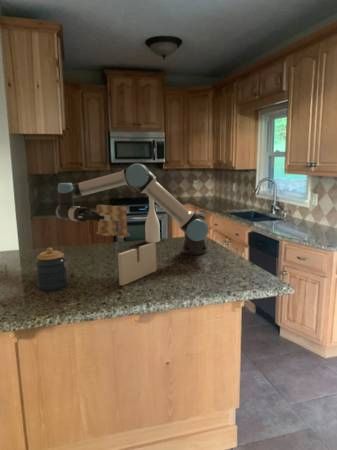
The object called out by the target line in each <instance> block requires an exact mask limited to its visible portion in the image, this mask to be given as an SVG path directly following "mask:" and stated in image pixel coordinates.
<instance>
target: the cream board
mask: <svg viewBox="0 0 337 450" xmlns="http://www.w3.org/2000/svg"><path fill="white" fill-rule="evenodd" d="M156 243H157V242H156ZM156 243H153V242H152V243H146V244H144V245H140V246H138V250H137V248H131V249H129V250H126V251H123V252H120V253H117V260H118V281H119V285H120V286H126V285H127V284H129V283H130V284H131V282H134V281H136V280H139V279H141V278H143V277H145V276H148V275H149V274H150V275H151V274H152V273H154V272H156V271H157V247H156V246H157V245H156ZM137 251H138V252H137ZM138 253H139V255H138ZM138 256H139V261H138Z"/></svg>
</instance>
